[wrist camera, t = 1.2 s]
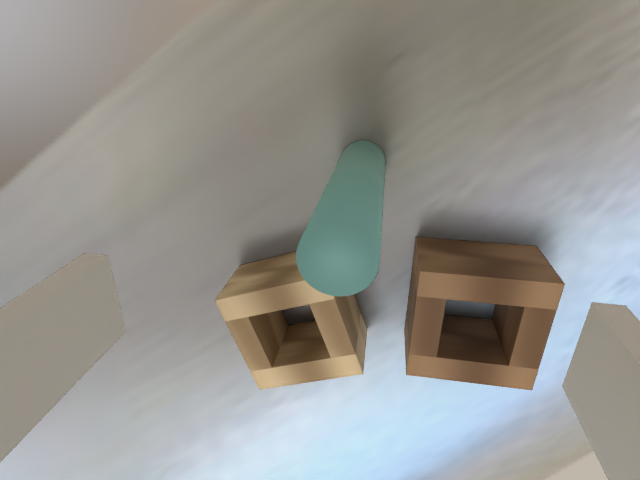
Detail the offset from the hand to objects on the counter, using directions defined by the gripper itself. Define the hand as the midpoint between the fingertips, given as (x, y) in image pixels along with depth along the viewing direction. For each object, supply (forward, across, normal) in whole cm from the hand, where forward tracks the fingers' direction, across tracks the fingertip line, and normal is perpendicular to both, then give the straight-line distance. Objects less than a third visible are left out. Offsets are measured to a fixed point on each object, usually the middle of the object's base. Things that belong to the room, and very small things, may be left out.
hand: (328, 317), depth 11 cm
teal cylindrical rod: (+18, 0, 0) cm, 18 cm away
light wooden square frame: (+17, -4, -11) cm, 21 cm away
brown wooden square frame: (+18, +8, -9) cm, 21 cm away
